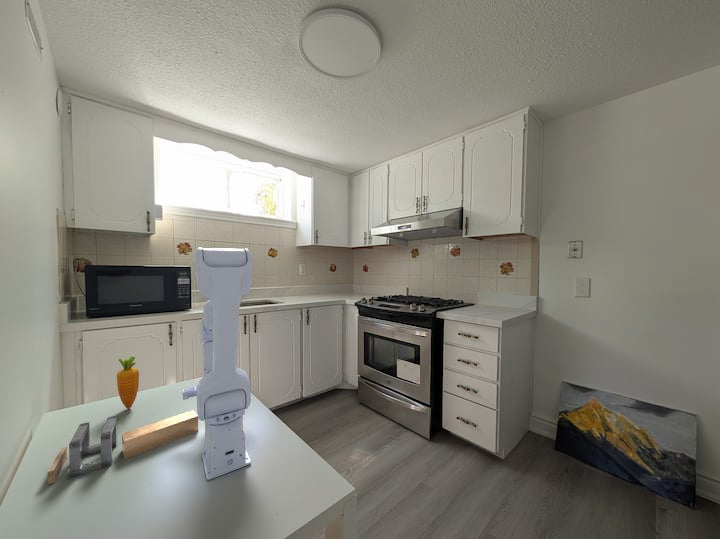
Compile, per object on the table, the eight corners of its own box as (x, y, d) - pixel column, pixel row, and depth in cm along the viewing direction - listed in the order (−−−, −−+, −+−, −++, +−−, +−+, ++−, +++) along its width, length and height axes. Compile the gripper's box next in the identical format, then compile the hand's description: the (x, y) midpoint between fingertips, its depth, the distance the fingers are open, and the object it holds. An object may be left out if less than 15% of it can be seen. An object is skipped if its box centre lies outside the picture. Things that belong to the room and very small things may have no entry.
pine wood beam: (198, 431, 70) (198, 415, 69) (124, 460, 60) (124, 441, 60) (193, 425, 72) (193, 409, 72) (122, 451, 62) (121, 433, 62)
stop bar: (54, 482, 53) (53, 470, 53) (48, 484, 53) (47, 472, 53) (67, 457, 60) (66, 446, 60) (61, 459, 60) (61, 448, 60)
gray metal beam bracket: (111, 465, 58) (110, 433, 58) (66, 479, 54) (65, 445, 54) (117, 443, 65) (116, 415, 65) (77, 454, 61) (76, 425, 61)
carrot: (112, 411, 79) (111, 358, 78) (131, 403, 84) (130, 352, 83) (125, 414, 77) (124, 359, 77) (144, 405, 82) (142, 354, 82)
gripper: (242, 356, 80) (243, 404, 80) (181, 367, 71) (182, 421, 72) (248, 363, 74) (249, 415, 74) (182, 376, 66) (184, 434, 66)
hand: (216, 419), depth 72 cm, fingers closed
